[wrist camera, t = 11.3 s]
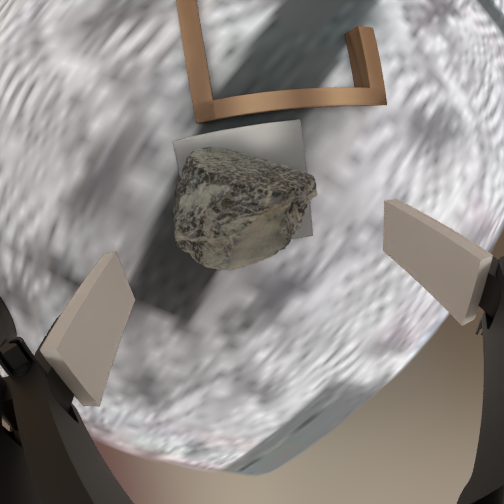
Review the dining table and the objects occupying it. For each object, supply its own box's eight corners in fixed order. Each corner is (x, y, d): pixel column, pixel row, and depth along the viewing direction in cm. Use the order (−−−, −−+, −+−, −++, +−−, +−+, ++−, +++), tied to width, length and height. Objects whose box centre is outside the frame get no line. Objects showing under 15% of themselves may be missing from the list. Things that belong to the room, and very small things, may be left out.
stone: (290, 146, 13) (186, 293, 16) (344, 200, 22) (271, 293, 24) (199, 97, 18) (131, 207, 21) (268, 148, 26) (212, 228, 29)
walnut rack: (199, 123, 22) (196, 122, 19) (172, -52, 13) (168, -67, 10) (370, 105, 22) (387, 104, 20) (328, -59, 13) (337, -71, 11)
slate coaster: (200, 253, 27) (199, 256, 27) (173, 140, 22) (172, 141, 22) (311, 233, 27) (312, 235, 27) (298, 119, 23) (300, 119, 22)
